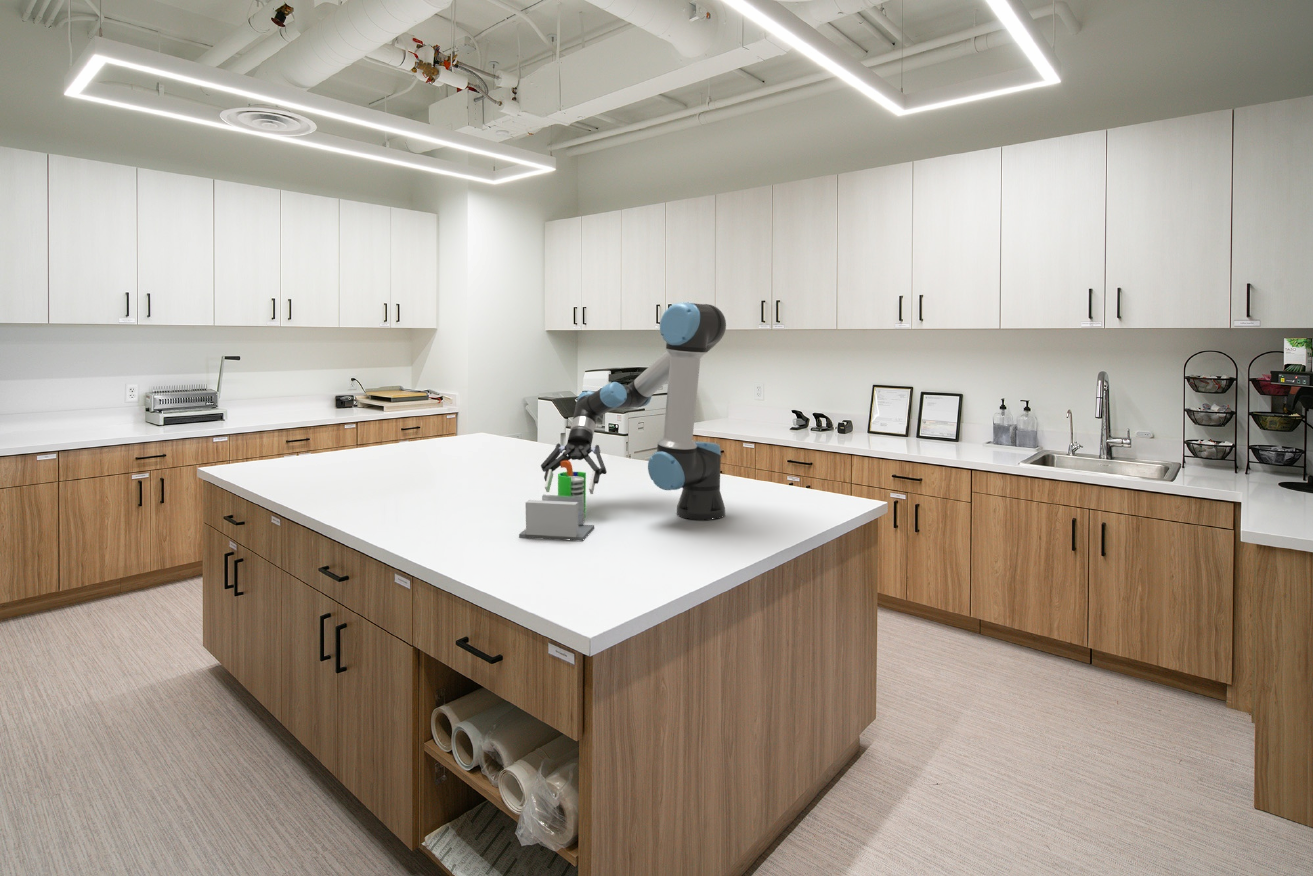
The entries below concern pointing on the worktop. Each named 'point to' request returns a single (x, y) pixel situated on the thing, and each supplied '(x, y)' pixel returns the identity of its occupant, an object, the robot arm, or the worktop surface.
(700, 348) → the robot arm
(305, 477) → the worktop surface
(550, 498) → the gauge plunger
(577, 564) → the worktop surface
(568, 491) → the green-shelled ribbed roller
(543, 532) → the frame
